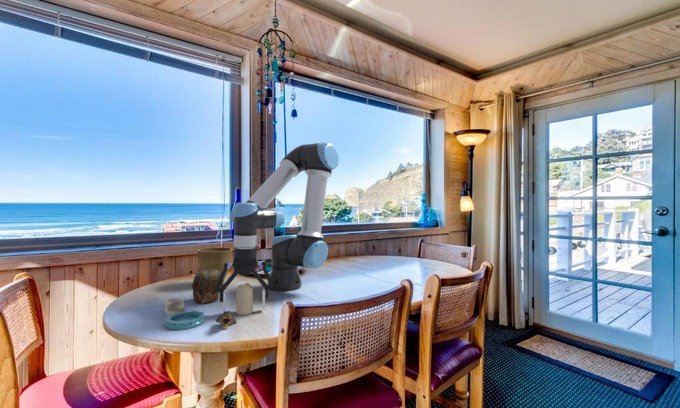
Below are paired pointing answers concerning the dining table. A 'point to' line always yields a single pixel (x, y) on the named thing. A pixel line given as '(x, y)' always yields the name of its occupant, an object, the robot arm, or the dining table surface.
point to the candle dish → (184, 320)
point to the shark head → (226, 319)
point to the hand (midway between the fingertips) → (244, 309)
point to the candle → (244, 299)
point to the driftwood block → (174, 306)
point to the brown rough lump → (206, 286)
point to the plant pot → (214, 258)
